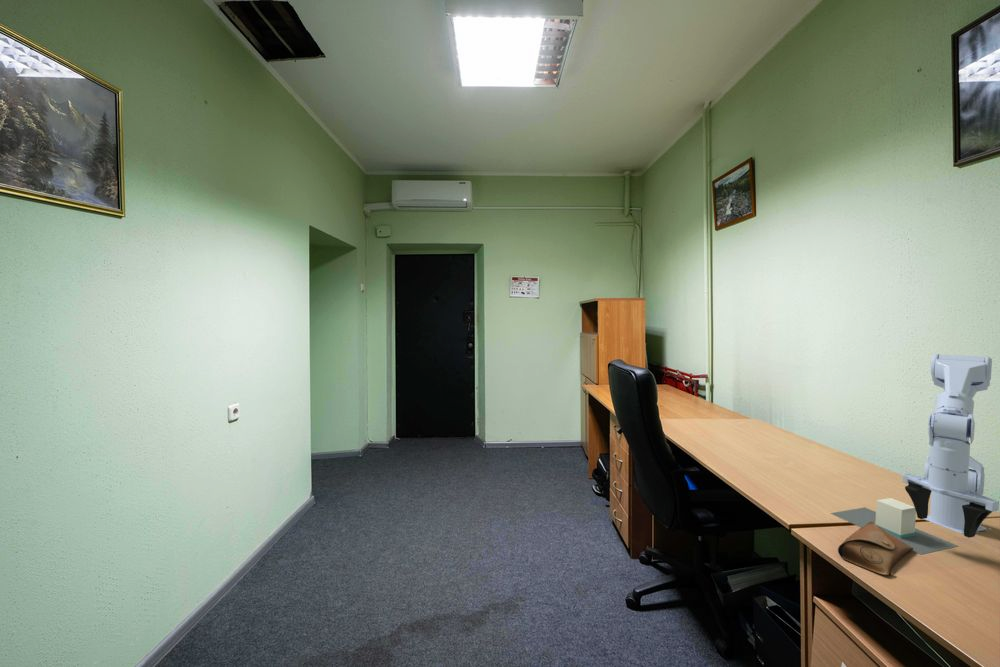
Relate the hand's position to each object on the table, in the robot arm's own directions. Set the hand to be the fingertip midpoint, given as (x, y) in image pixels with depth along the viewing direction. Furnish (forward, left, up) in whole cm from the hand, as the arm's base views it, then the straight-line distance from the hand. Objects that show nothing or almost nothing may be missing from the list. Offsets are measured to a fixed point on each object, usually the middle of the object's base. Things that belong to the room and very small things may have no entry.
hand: (944, 526), depth 86 cm
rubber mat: (0, -10, -6) cm, 12 cm away
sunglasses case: (+15, -4, -6) cm, 17 cm away
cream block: (0, -9, -6) cm, 11 cm away
